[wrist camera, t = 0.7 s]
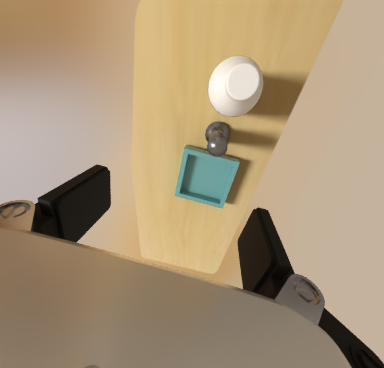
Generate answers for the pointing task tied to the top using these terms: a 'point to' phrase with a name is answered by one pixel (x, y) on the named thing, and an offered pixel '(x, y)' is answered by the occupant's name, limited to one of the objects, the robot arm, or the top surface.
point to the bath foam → (235, 86)
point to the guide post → (217, 138)
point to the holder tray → (206, 176)
